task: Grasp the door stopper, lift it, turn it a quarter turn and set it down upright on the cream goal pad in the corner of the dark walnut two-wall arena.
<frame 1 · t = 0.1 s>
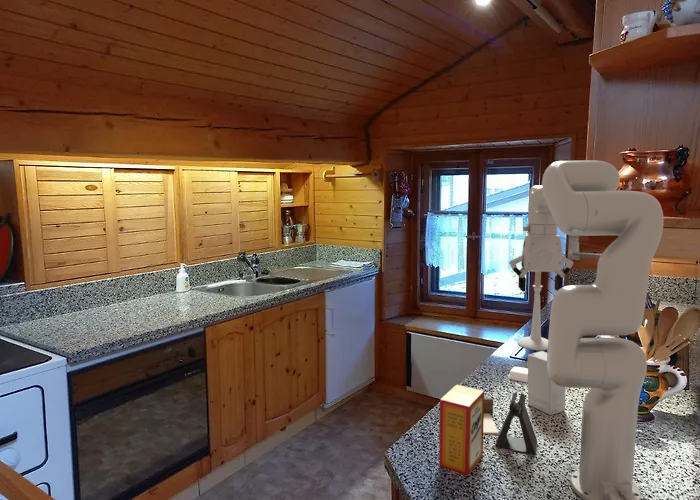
hand: (540, 290, 140), 31 cm above the worktop, tool pointing down, fingers open, 9 cm apart
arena: (480, 424, 127), on the worktop
goal pad: (480, 424, 127), on the worktop
door stopper: (516, 446, 117), on the worktop
baking soda box: (461, 461, 111), on the worktop
candlestick: (535, 345, 188), on the worktop
skincare box: (545, 408, 136), on the worktop
soap: (523, 379, 157), on the worktop
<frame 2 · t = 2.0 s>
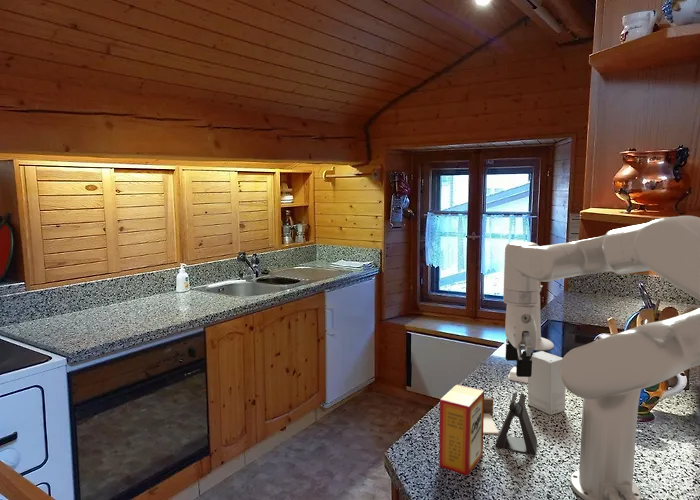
hand: (517, 367, 115), 19 cm above the worktop, tool pointing down, fingers open, 9 cm apart
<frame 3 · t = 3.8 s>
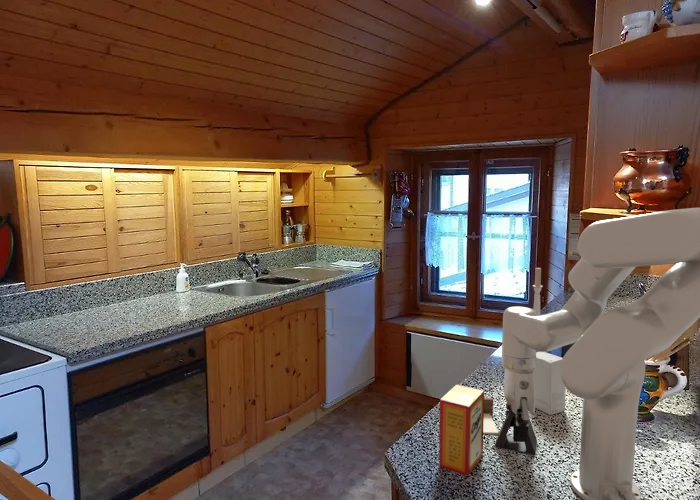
hand: (516, 432, 117), 3 cm above the worktop, tool pointing down, fingers closed on door stopper, 6 cm apart
door stopper: (516, 445, 117), on the worktop, touching gripper
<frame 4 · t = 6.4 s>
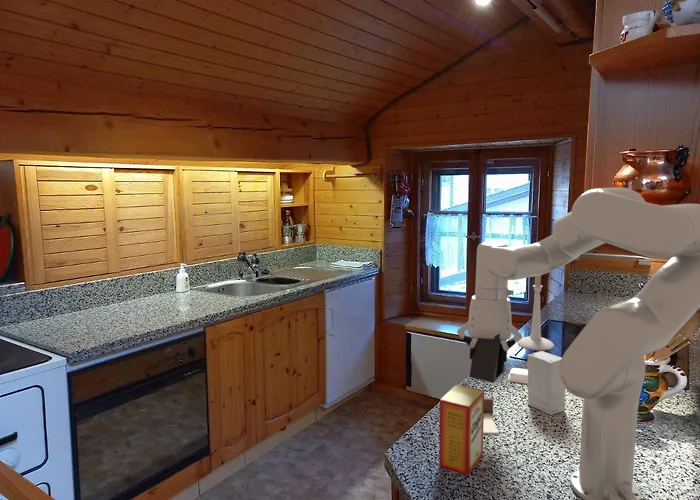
hand: (487, 362, 123), 17 cm above the worktop, tool pointing down, fingers closed on door stopper, 6 cm apart
door stopper: (487, 374, 124), point 14 cm above the worktop, touching gripper
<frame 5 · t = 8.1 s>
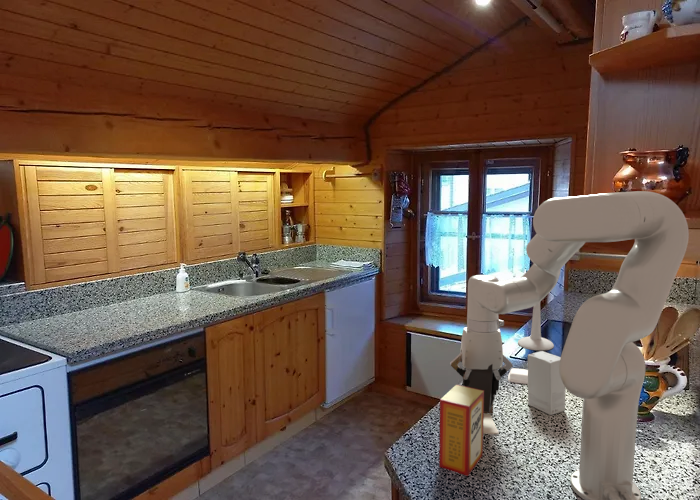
hand: (480, 392, 126), 9 cm above the worktop, tool pointing down, fingers closed on door stopper, 6 cm apart
door stopper: (480, 403, 127), point 5 cm above the worktop, touching gripper
when the fingers open (5 cm above the worktop, at t = 9.3 s): door stopper drops 1 cm, resting on goal pad.
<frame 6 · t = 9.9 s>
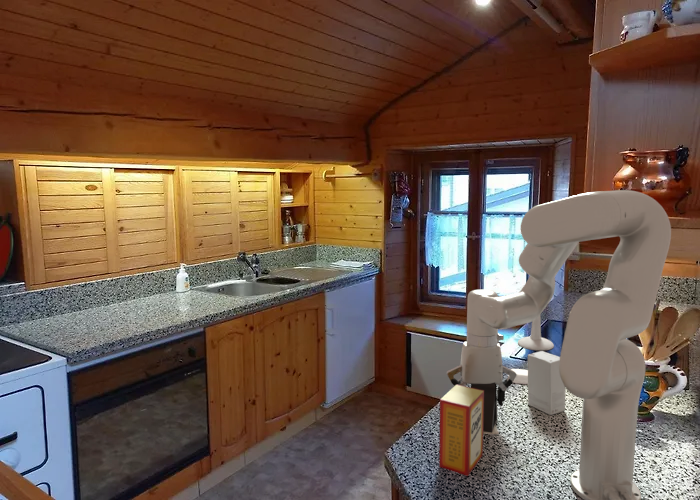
hand: (480, 403, 127), 6 cm above the worktop, tool pointing down, fingers open, 9 cm apart
door stopper: (482, 423, 127), resting on goal pad
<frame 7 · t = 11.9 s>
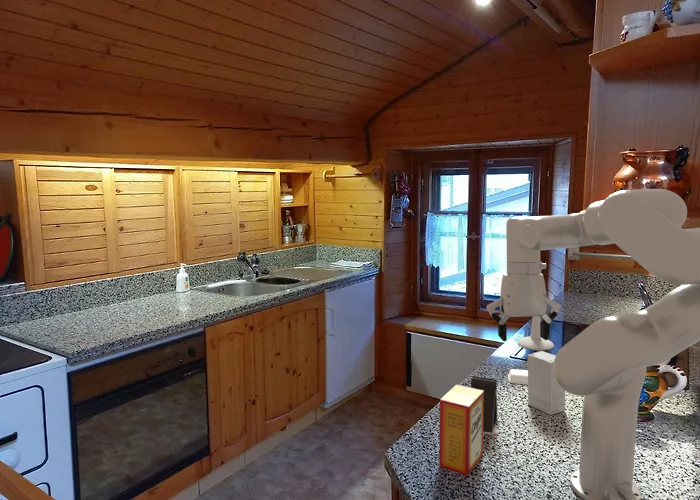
hand: (523, 339, 119), 24 cm above the worktop, tool pointing down, fingers open, 9 cm apart
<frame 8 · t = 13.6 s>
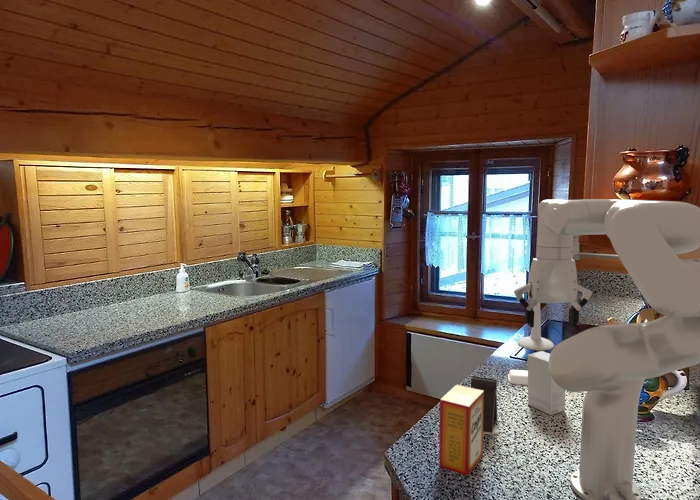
hand: (551, 325, 116), 28 cm above the worktop, tool pointing down, fingers open, 9 cm apart
at the end: door stopper 0.6 cm from the target spot, resting on goal pad; door stopper tilted 0°; the gripper is holding nothing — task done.
